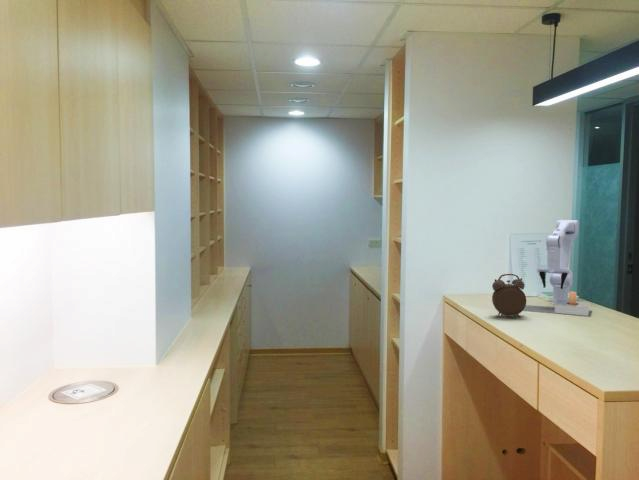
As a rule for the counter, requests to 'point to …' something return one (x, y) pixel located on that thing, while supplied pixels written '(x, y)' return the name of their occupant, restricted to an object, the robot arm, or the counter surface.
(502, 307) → the alarm clock
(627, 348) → the counter surface
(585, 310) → the hole block
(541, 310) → the rubber mat
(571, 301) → the pin
